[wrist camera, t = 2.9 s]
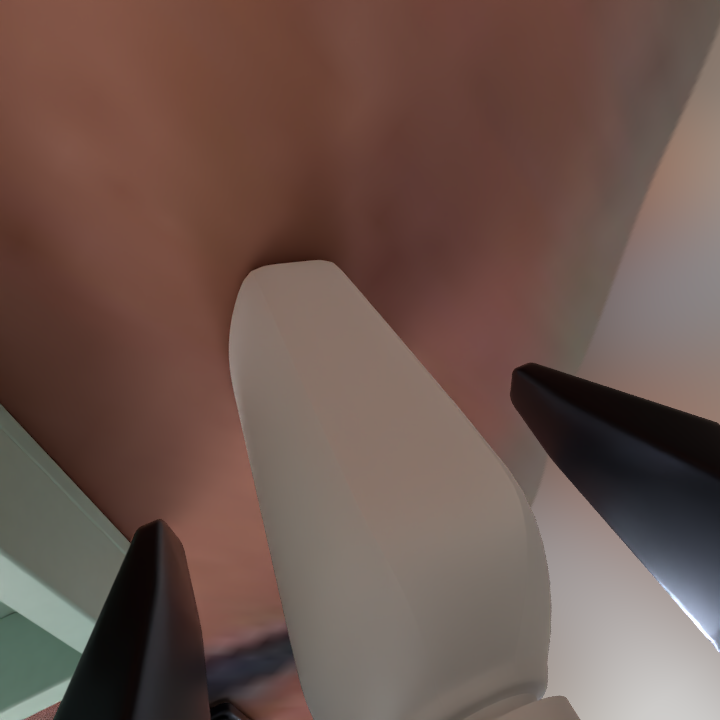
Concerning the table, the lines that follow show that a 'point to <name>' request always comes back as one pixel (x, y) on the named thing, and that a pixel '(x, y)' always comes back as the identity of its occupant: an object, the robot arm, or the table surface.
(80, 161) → the table surface
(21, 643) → the green tray
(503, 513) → the eye dropper bottle
